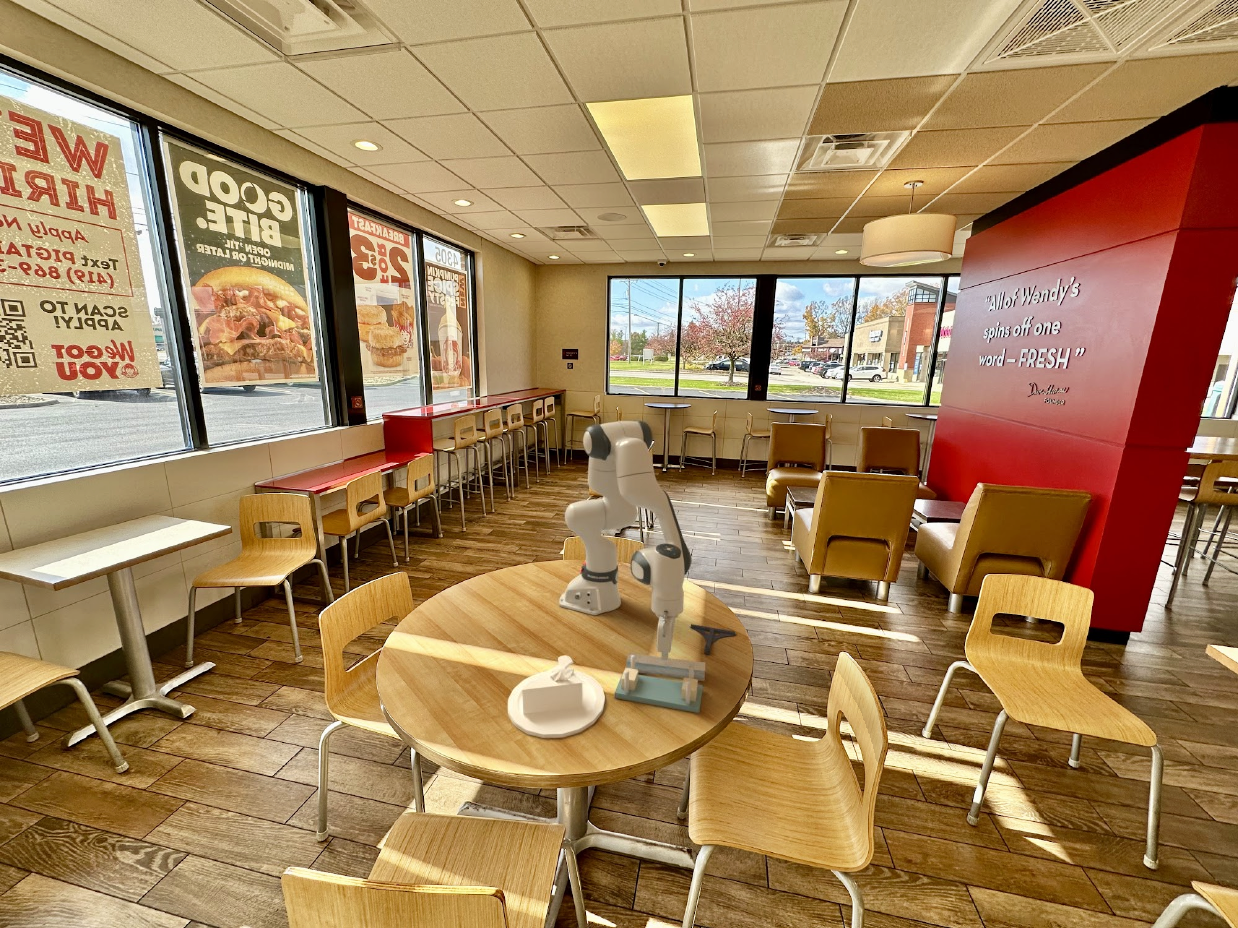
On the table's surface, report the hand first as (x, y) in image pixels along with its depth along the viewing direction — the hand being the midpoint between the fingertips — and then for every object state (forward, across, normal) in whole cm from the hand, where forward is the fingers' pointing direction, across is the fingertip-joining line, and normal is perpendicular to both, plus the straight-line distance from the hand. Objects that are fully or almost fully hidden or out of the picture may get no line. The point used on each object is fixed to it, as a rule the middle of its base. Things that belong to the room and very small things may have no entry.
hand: (666, 648), depth 139 cm
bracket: (+8, +19, -12) cm, 24 cm away
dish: (+8, -18, +27) cm, 33 cm away
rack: (+8, -9, +1) cm, 12 cm away
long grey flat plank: (+8, 0, 0) cm, 8 cm away
